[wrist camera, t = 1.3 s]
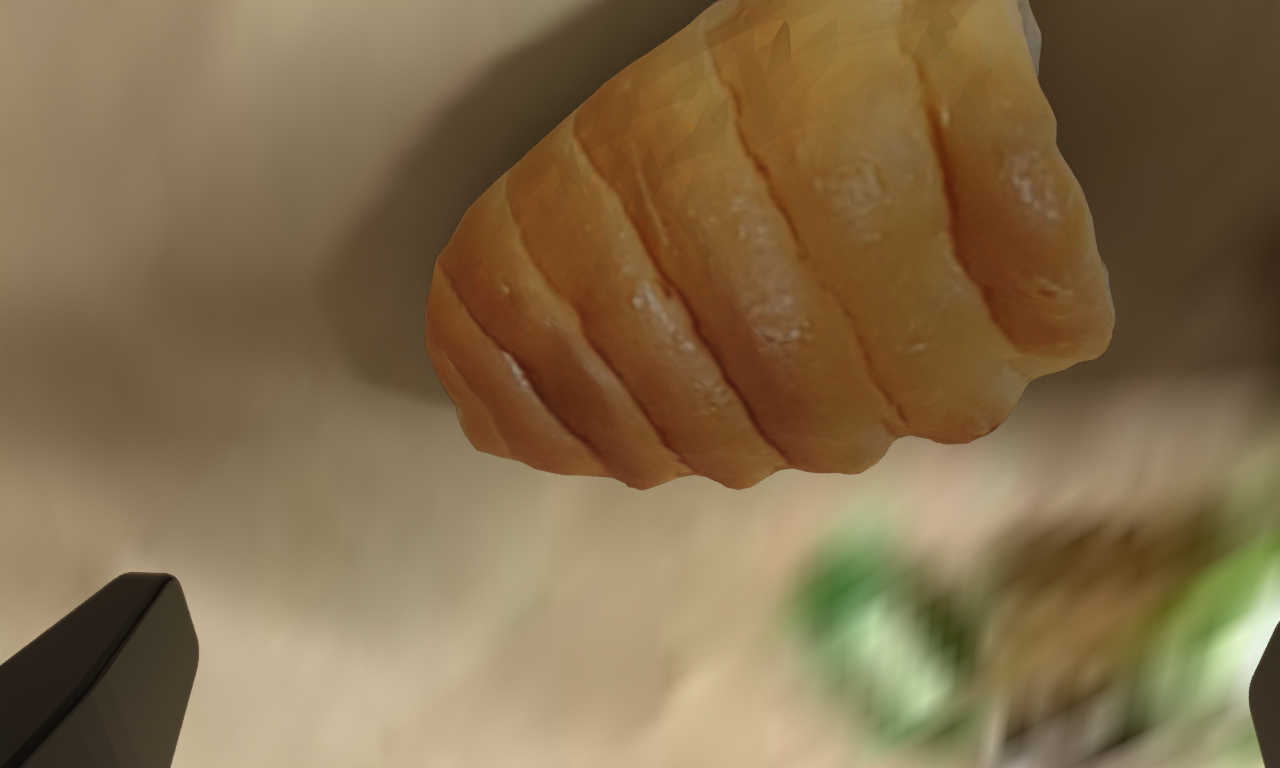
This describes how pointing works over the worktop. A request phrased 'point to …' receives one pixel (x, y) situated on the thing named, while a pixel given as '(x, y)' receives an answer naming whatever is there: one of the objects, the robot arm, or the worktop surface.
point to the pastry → (776, 251)
